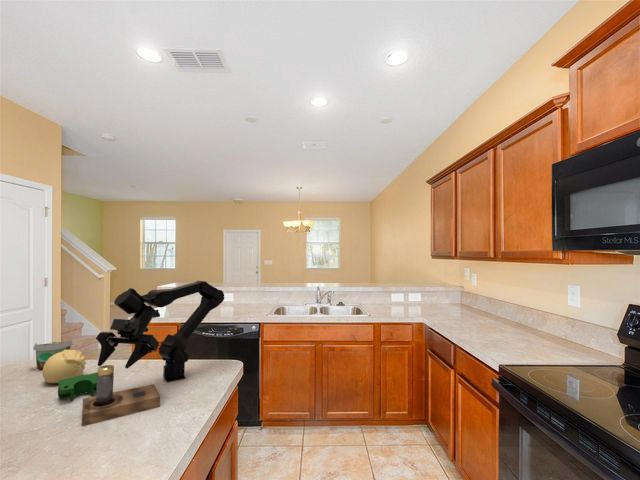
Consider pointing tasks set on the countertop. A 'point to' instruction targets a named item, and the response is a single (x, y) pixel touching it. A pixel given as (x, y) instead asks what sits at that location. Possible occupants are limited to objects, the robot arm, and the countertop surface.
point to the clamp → (77, 386)
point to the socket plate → (121, 404)
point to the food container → (49, 351)
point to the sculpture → (64, 366)
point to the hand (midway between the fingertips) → (112, 366)
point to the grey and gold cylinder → (104, 385)
